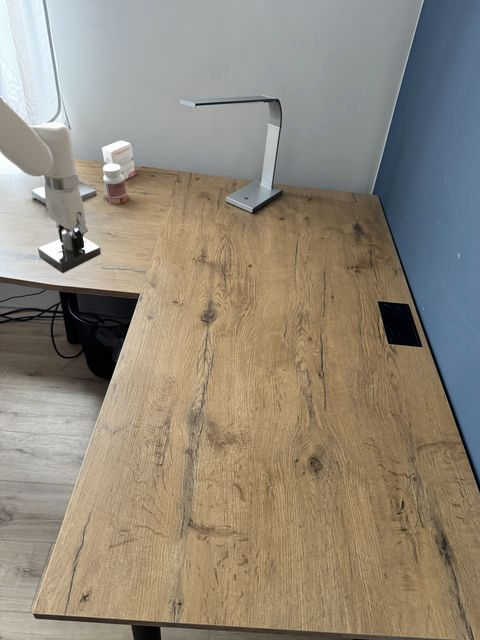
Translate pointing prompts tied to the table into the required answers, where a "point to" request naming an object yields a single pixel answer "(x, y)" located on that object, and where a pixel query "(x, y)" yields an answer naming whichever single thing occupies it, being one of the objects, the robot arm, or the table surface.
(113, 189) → the pill bottle
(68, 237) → the hob knob
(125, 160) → the ink box
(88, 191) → the block
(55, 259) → the base plate
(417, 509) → the table surface
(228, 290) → the table surface
